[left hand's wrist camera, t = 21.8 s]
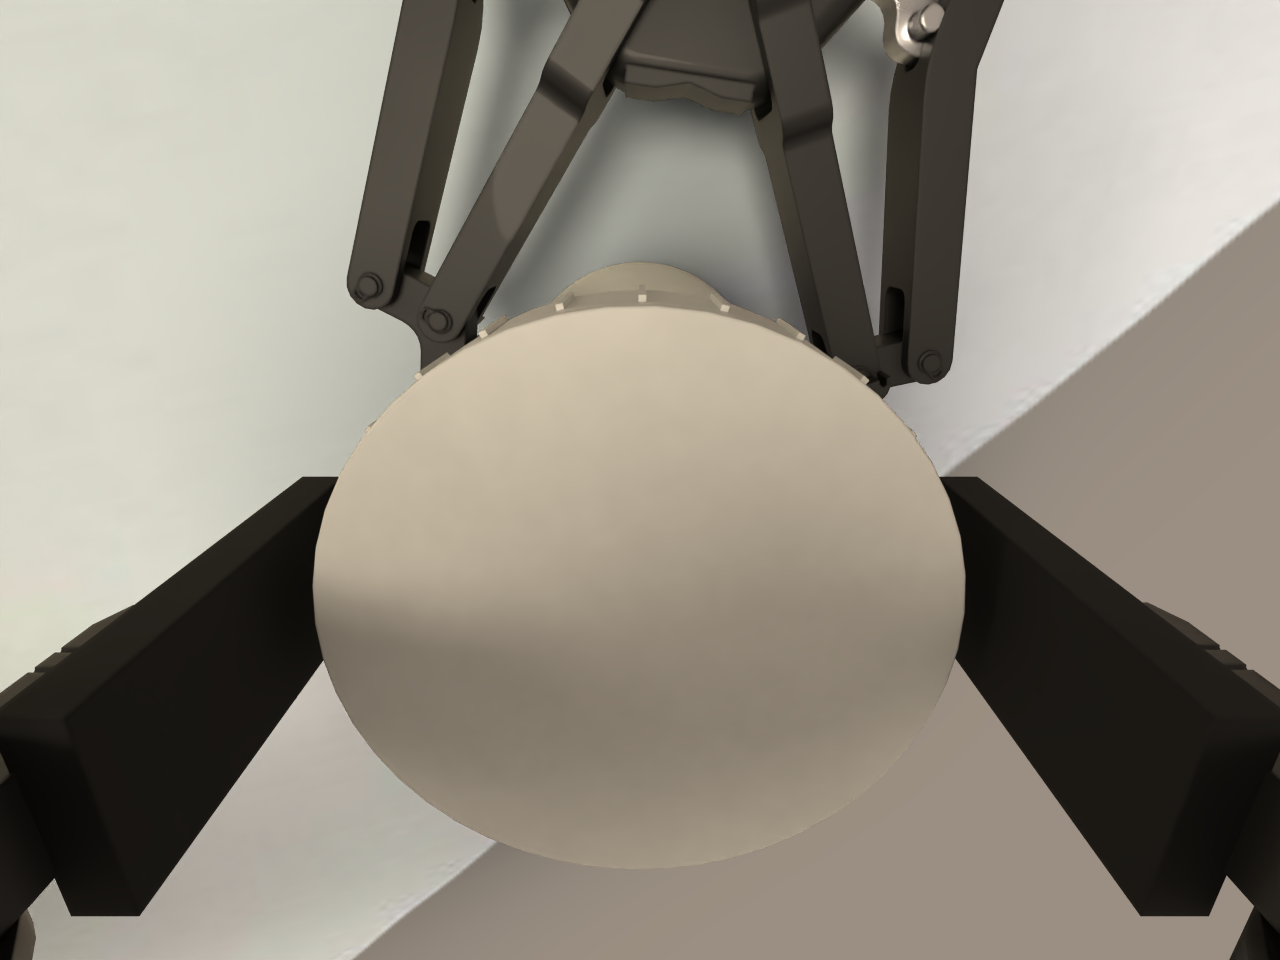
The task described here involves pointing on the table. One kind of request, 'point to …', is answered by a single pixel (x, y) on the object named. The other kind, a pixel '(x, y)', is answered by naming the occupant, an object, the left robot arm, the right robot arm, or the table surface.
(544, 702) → the lid
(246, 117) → the table surface
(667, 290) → the jar
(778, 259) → the table surface
